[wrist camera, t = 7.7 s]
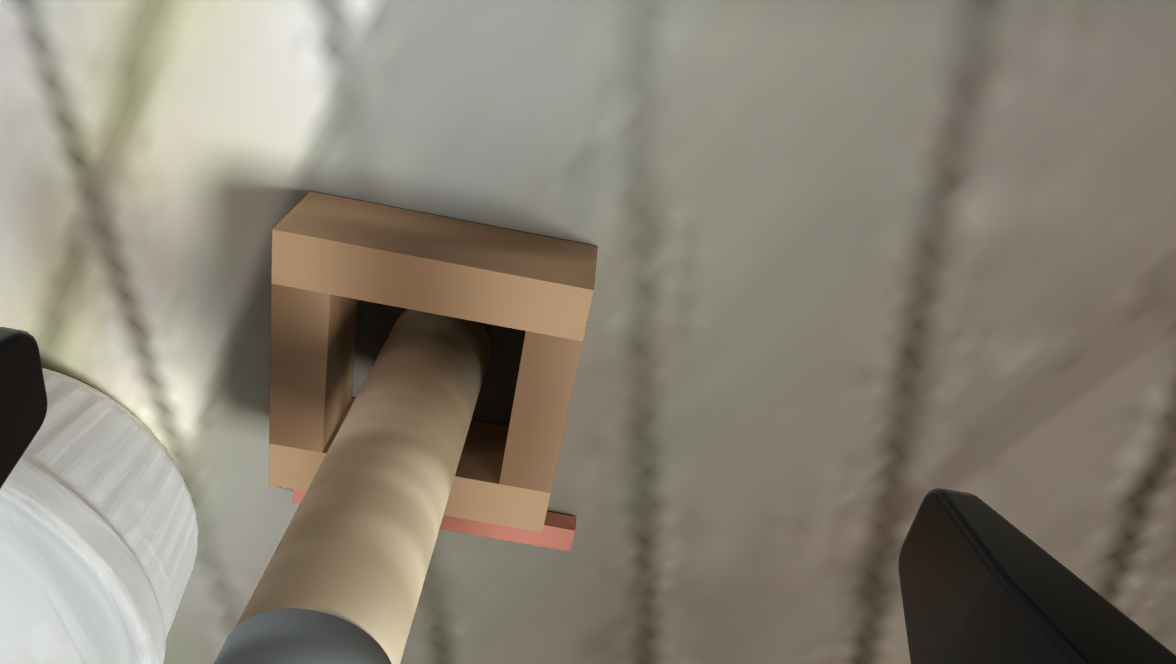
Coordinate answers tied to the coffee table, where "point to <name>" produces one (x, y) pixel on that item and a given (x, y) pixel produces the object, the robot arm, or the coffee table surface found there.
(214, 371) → the coffee table surface
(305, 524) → the dowel
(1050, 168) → the coffee table surface
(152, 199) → the coffee table surface
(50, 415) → the ramekin
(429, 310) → the wooden square frame
